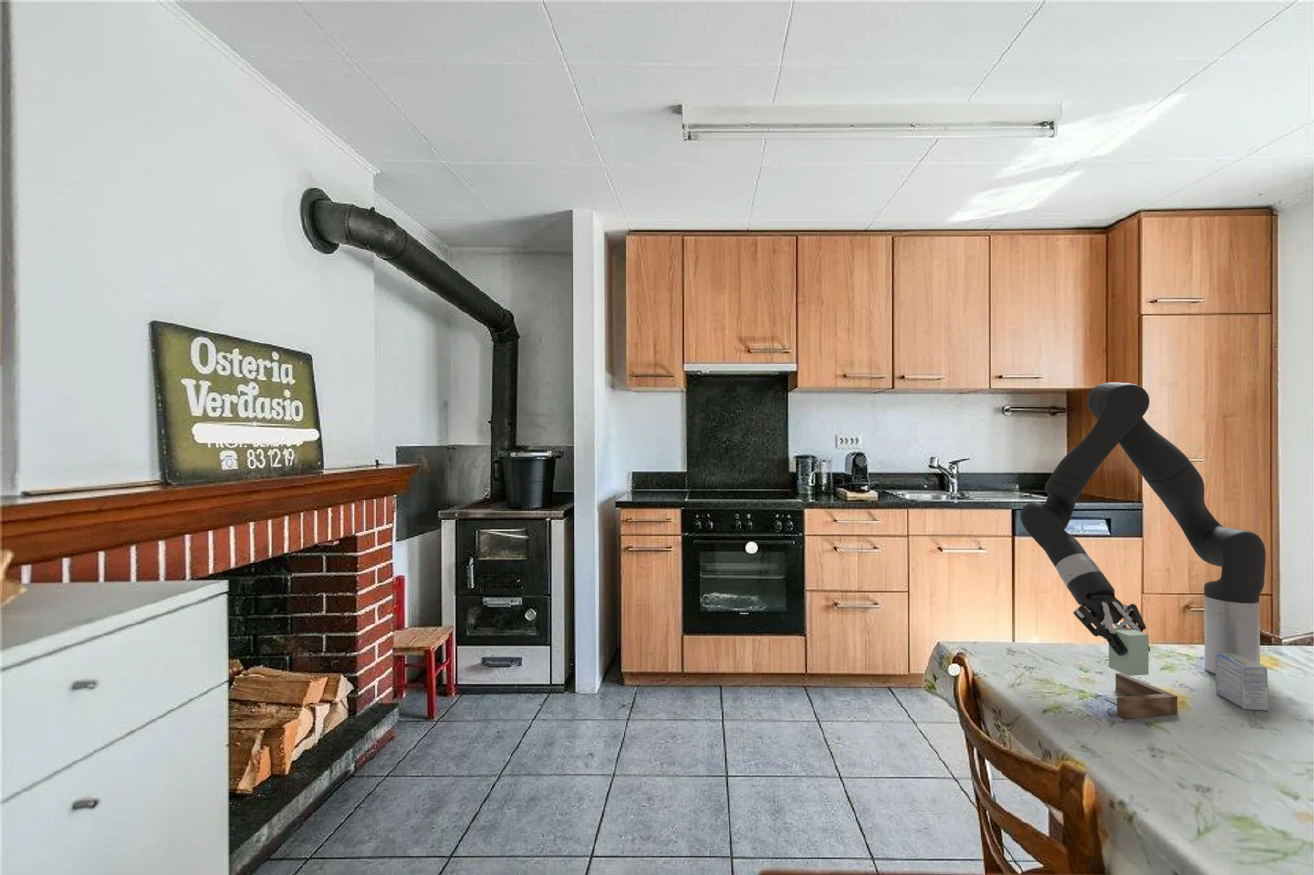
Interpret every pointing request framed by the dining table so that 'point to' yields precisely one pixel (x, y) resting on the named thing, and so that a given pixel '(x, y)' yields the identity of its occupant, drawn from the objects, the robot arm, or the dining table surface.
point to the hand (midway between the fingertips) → (1134, 652)
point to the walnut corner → (1142, 699)
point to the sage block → (1131, 653)
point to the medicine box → (1242, 681)
